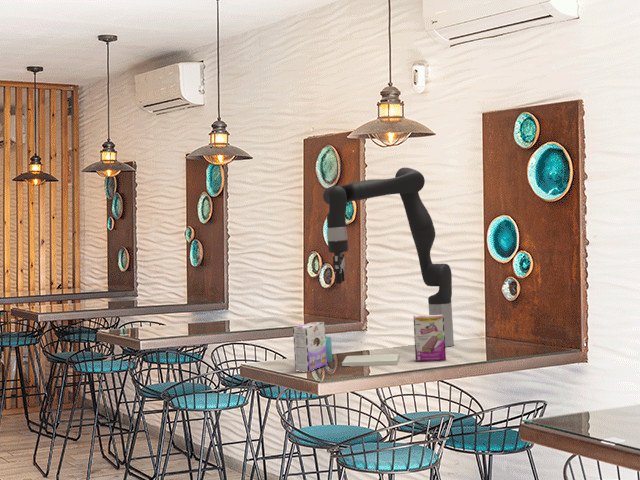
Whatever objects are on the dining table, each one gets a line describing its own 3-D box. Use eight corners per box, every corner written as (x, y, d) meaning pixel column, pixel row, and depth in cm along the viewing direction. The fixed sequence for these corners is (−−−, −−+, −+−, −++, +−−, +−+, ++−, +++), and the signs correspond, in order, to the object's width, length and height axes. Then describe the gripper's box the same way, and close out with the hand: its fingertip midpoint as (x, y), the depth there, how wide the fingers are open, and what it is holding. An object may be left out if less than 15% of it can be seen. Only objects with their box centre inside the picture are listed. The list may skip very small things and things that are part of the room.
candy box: (314, 365, 308) (311, 321, 308) (328, 365, 305) (325, 321, 305) (295, 372, 296) (292, 326, 296) (308, 373, 293) (305, 327, 293)
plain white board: (347, 359, 315) (346, 356, 315) (399, 357, 312) (399, 354, 312) (342, 366, 301) (342, 362, 301) (397, 364, 298) (396, 360, 298)
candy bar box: (415, 362, 301) (413, 317, 301) (415, 359, 306) (412, 315, 306) (446, 360, 300) (443, 315, 300) (445, 358, 305) (443, 314, 305)
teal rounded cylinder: (315, 360, 319) (314, 336, 319) (333, 359, 318) (332, 336, 318) (312, 363, 312) (311, 339, 312) (331, 362, 311) (329, 339, 311)
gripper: (330, 239, 316) (333, 281, 317) (324, 240, 302) (327, 284, 303) (349, 238, 315) (352, 280, 316) (345, 239, 301) (347, 283, 302)
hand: (340, 282), depth 309 cm, fingers open, 8 cm apart
